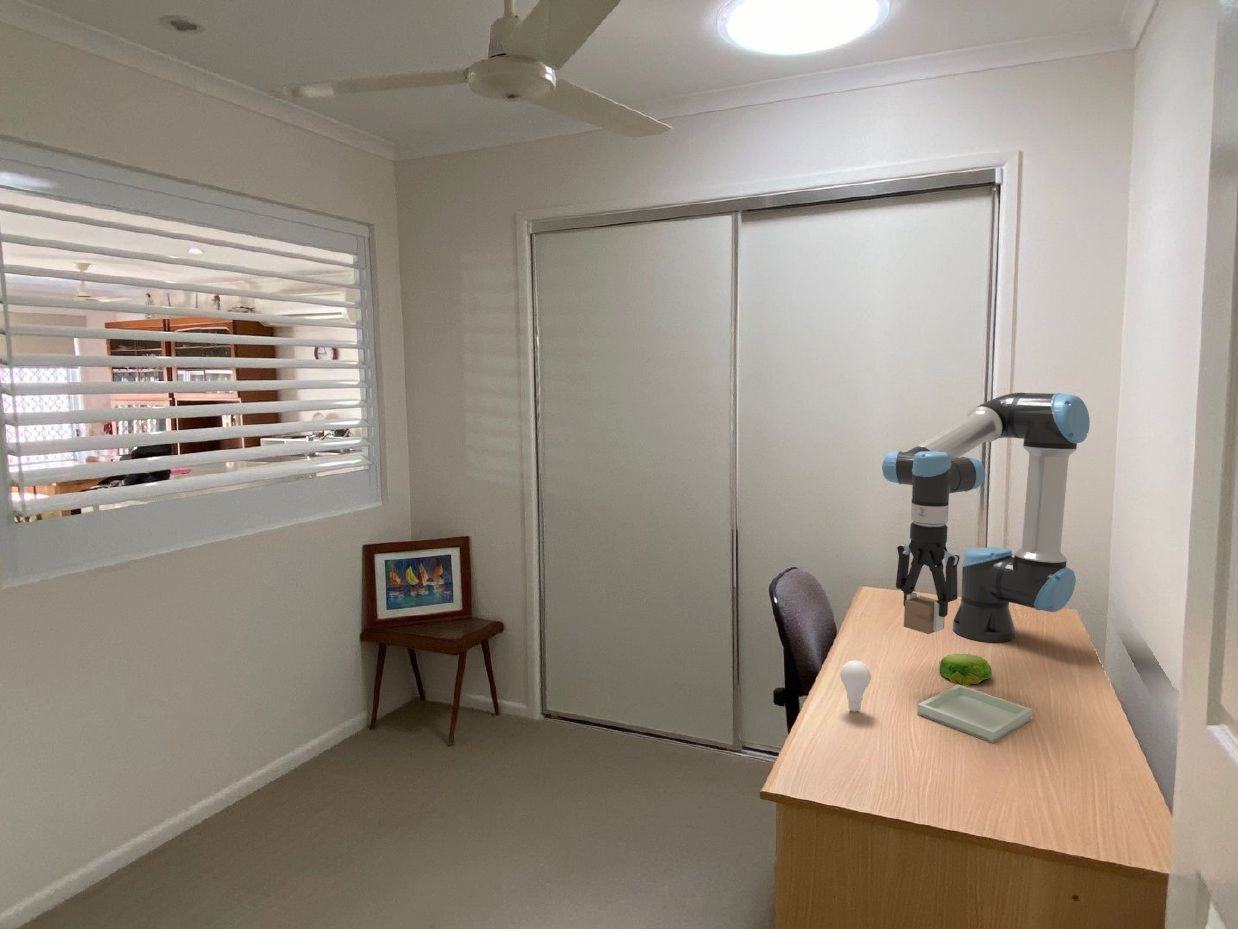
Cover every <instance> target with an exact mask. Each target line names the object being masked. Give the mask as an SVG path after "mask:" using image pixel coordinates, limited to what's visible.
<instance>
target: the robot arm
mask: <svg viewBox="0 0 1238 929" xmlns="http://www.w3.org/2000/svg"><path fill="white" fill-rule="evenodd" d="M1090 422H1091V421H1090V414H1089V410H1088V407H1087V405H1086V403H1085V402H1084V401H1083V399H1082V398H1081V397H1080V396H1077V395H1074V394H1067V393H1059V392H1057V393H1043V392H1041V393H1039V392H1012V393H1007V394H1004V395H1001V396H997V397H996V398H992V399H989V400H987V401H986V402H983V403H981V404H980V405H978V406H975V407H974V408H973V409H971V410H969V413H967V416H966V417H964V418H962V419H961V420H960V421H958V422H956V423H954V424H952V425H951V426H949V427H947V428H945V429H944V430H942V431H941V432H938V433H937V434H934V436H931V437H930V438H928V439H927V440H924V441H923V442H922V443H920V444H917V445H916V446H915V447H913V448H911V449H909V450H906V451H901V450H898V451H893V450H892V451H890V452H888V453H887V454H886V455H885V456H884V458H883V461H882V464H881V470H882V476H883V477H884V479H885V480H886V481H888V482H891V483H896V484H899V485H908V486H912V487H911V488H912V489H911V490H912V492H911V506H910V508H911V509H910V520H911V521H912V522H911V523H910V526H909V527H910V528H909V538H910V542H909V544H902V545H899V546H897V548H896V549H897V553H898V561H897V562H898V563H897V570H896V571H897V572H896V580H895V588H896V589H897V590H901V591H902V592H903V607H904V608H905V600H908V599H912V598H915V597H918V593H917V592H915V591H916V588H915V587H916V585H917V582H918V579H919V576H920V575H921V572H922V568H923V566H927V567H928V568H929V571H930V572H931V575H932V579H933V583H934V588H935V593H936V597H937V600H938V601H936V602H935V603H934V624H933V631H935V632H934V633H937V632H940V631H943V630H944V629H943V626H944V627H945V618H946V617H947V616H948V610H949V603H950V602H953V601H956V600H957V599H958V596H959V595H958V564H959V562H960V556H959V555H958V554H952V553H950V552H948V548H947V546H946V544H947V542H948V528H949V527H948V526H947V523H948V522H949V506H950V505H949V501H950V494H956V493H962V492H964V493H965V492H970V491H972V490H975V489H978V488H980V486H982V485H983V483H984V481H985V480H986V479H985V478H986V470H985V467H984V464H982V462H981V461H980V460H979V459H978V458H976V457H972V456H963V455H966V454H967V453H969V452H971V451H972V450H974V449H975V448H977V447H979V446H980V445H981V444H983V443H992V442H994V441H997V440H998V439H1004V438H1005V439H1006V438H1007V439H1009V438H1010V439H1011V438H1012V439H1019V440H1020V439H1023V444H1022V446H1023V448H1024V449H1025V450H1026V451H1027V453H1028V455H1029V456H1028V467H1027V479H1026V480H1027V481H1026V493H1025V503H1024V505H1025V506H1024V517H1023V529H1022V539H1021V540H1022V543H1021V547H1020V549H1017V550H1016V551H1015V552H1014V556H1013V552H1012V550H1011V549H1010V548H1005V547H994V546H993V547H991V546H990V547H975V548H971V549H968V550H966V551H965V552H964V554H963V559H962V565H961V567H962V572H961V577H962V578H961V596H960V597H961V599H960V603H959V606H958V609H957V610H956V613H955V616H954V619H953V621H952V630H953V632H954V633H955V634H957V635H959V636H961V637H963V638H967V639H970V640H974V641H980V642H986V643H1003V642H1004V643H1005V642H1009V641H1012V640H1013V639H1014V638H1015V635H1016V634H1015V633H1016V629H1015V624H1014V620H1013V617H1012V614H1011V611H1010V603H1012V604H1016V605H1020V606H1024V607H1026V608H1027V607H1028V608H1031V609H1034V610H1037V611H1043V612H1049V613H1056V612H1059V611H1061V610H1063V608H1065V606H1066V605H1067V604H1068V602H1069V601H1070V600H1071V598H1072V596H1073V593H1074V590H1075V587H1076V575H1075V572H1074V570H1073V569H1071V568H1069V567H1067V562H1068V561H1067V560H1068V559H1067V557H1066V556H1065V555H1064V554H1063V553H1062V552H1061V549H1062V538H1063V537H1062V536H1063V526H1064V517H1065V516H1064V514H1065V506H1066V505H1065V502H1066V492H1067V481H1068V479H1067V477H1068V470H1069V458H1070V455H1072V454H1073V453H1074V452H1076V451H1077V449H1078V444H1080V443H1082V442H1084V441H1085V440H1086V438H1088V434H1089V432H1090ZM910 554H911V555H912V557H913V558H912V560H911V561H910V559H911V558H910V557H911V555H910ZM943 560H945V561H944V563H945V574H944V564H943ZM910 562H911V563H910ZM910 566H911V567H910ZM909 568H910V569H909ZM944 617H945V618H944Z"/></svg>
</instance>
